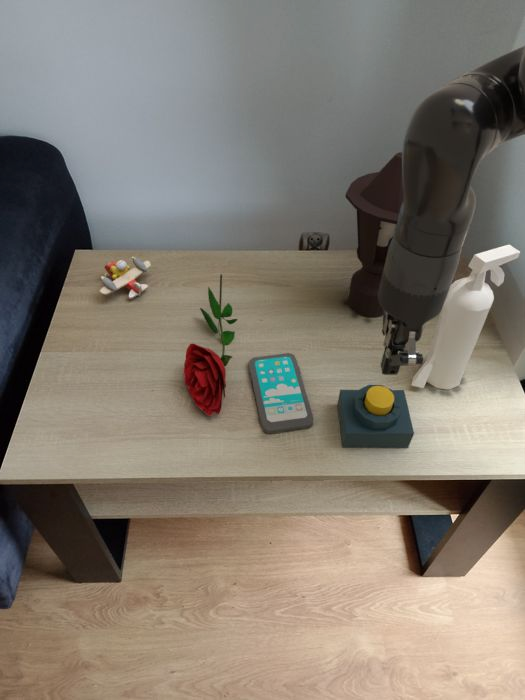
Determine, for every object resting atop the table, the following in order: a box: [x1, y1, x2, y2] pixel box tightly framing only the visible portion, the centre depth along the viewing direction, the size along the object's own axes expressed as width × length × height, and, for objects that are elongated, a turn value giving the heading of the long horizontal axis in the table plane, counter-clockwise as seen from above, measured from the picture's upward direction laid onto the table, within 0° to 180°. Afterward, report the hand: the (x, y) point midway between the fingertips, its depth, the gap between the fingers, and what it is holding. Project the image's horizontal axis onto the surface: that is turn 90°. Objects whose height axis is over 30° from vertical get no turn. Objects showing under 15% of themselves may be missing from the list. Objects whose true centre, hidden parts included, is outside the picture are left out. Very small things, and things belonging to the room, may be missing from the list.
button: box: [364, 385, 394, 416], centre depth 75 cm, size 4×4×2 cm
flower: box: [183, 274, 238, 417], centre depth 87 cm, size 9×9×30 cm
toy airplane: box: [99, 256, 151, 300], centre depth 98 cm, size 9×9×6 cm
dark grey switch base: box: [336, 384, 415, 449], centre depth 77 cm, size 10×8×6 cm
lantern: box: [345, 151, 404, 319], centre depth 87 cm, size 15×15×30 cm
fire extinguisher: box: [411, 244, 521, 391], centre depth 77 cm, size 7×12×25 cm, turn 116°
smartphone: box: [248, 352, 314, 434], centre depth 83 cm, size 9×1×15 cm
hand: (388, 370), depth 69 cm, fingers closed
